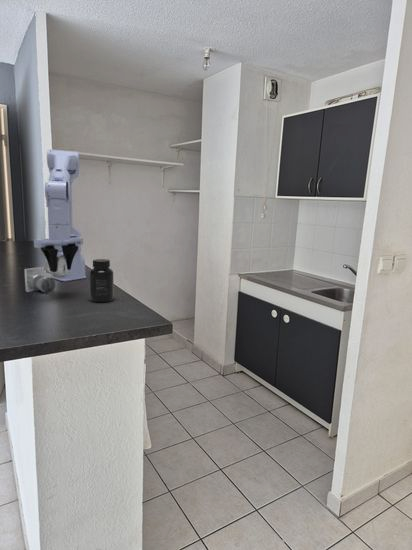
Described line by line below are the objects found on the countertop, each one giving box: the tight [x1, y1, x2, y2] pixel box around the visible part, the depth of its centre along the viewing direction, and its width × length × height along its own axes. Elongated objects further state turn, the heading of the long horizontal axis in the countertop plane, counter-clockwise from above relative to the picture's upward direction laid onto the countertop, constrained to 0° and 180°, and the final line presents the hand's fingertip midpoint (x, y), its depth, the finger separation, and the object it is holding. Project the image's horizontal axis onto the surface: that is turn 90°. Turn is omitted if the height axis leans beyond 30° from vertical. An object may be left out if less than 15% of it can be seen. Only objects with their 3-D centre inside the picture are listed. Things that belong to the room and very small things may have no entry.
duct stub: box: [24, 266, 57, 294], centre depth 117 cm, size 6×8×7 cm
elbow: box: [43, 255, 68, 278], centre depth 111 cm, size 8×4×6 cm, turn 50°
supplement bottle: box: [89, 258, 115, 303], centre depth 111 cm, size 7×7×12 cm
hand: (60, 270), depth 110 cm, fingers closed on elbow, 4 cm apart
